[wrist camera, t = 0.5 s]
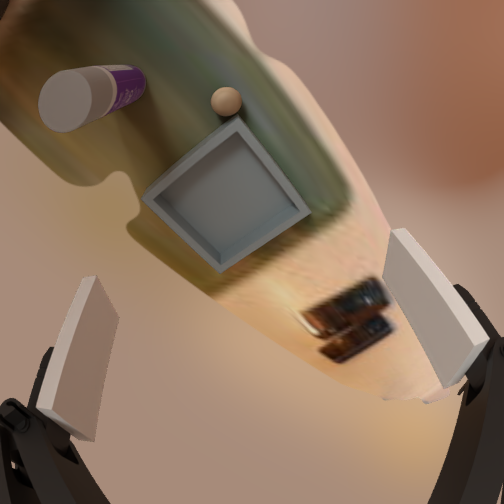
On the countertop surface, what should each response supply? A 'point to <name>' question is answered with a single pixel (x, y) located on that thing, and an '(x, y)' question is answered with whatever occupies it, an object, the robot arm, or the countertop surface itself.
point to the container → (88, 94)
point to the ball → (226, 101)
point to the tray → (226, 196)
